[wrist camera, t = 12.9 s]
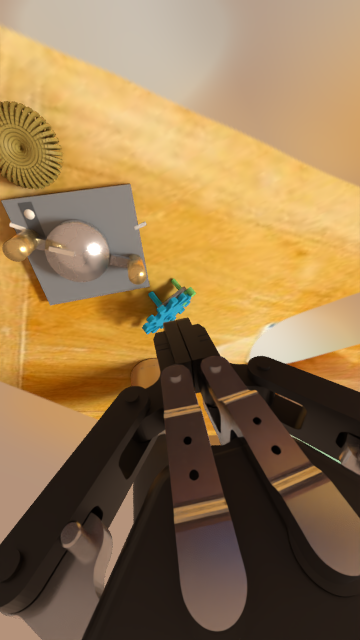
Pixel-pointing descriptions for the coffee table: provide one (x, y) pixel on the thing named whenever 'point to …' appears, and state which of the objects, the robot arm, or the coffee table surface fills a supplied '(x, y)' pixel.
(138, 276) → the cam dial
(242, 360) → the coffee table surface
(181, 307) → the gear
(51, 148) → the sculpture
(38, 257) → the board
